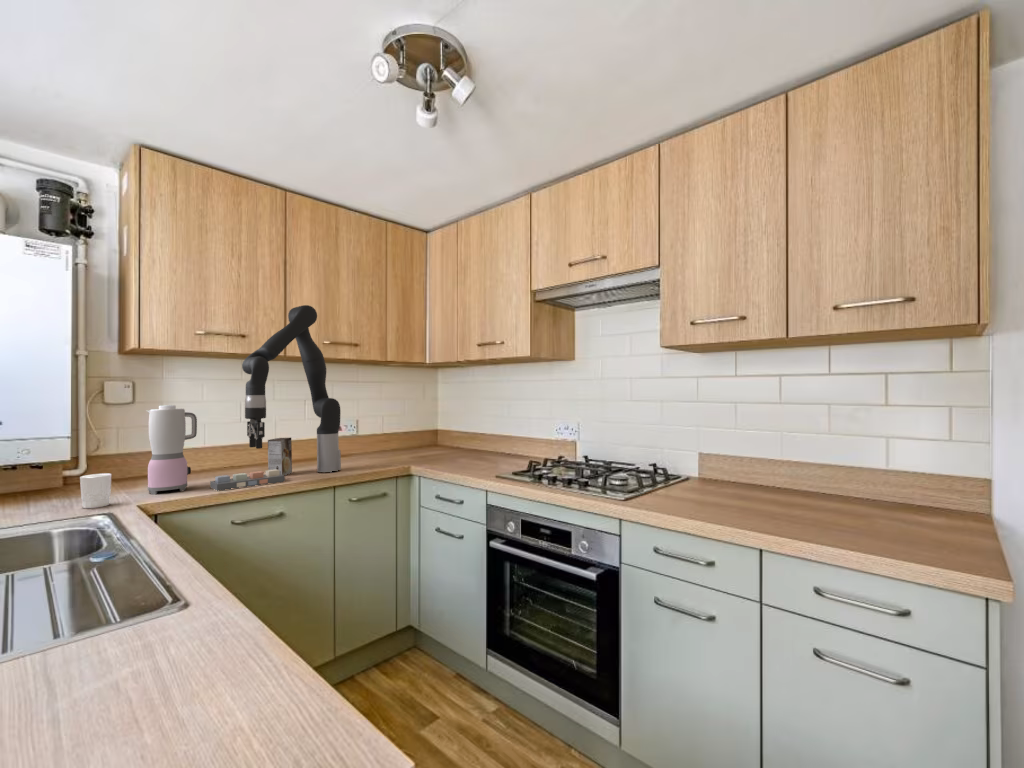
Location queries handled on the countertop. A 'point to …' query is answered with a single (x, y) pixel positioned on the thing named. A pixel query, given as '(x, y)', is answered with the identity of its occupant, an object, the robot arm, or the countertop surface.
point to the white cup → (95, 490)
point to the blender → (168, 448)
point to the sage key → (239, 476)
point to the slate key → (222, 479)
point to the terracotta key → (256, 474)
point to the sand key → (272, 472)
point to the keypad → (246, 482)
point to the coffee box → (280, 455)
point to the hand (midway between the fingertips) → (255, 447)
